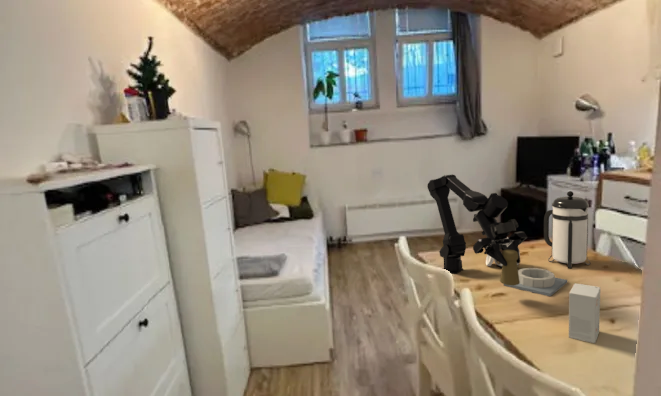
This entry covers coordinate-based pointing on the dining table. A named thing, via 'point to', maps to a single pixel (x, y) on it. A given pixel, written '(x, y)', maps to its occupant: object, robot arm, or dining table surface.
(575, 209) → the coffee press
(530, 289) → the mount
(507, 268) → the cork
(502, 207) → the robot arm
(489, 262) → the spread jar
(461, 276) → the dining table surface
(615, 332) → the dining table surface
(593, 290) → the small box
